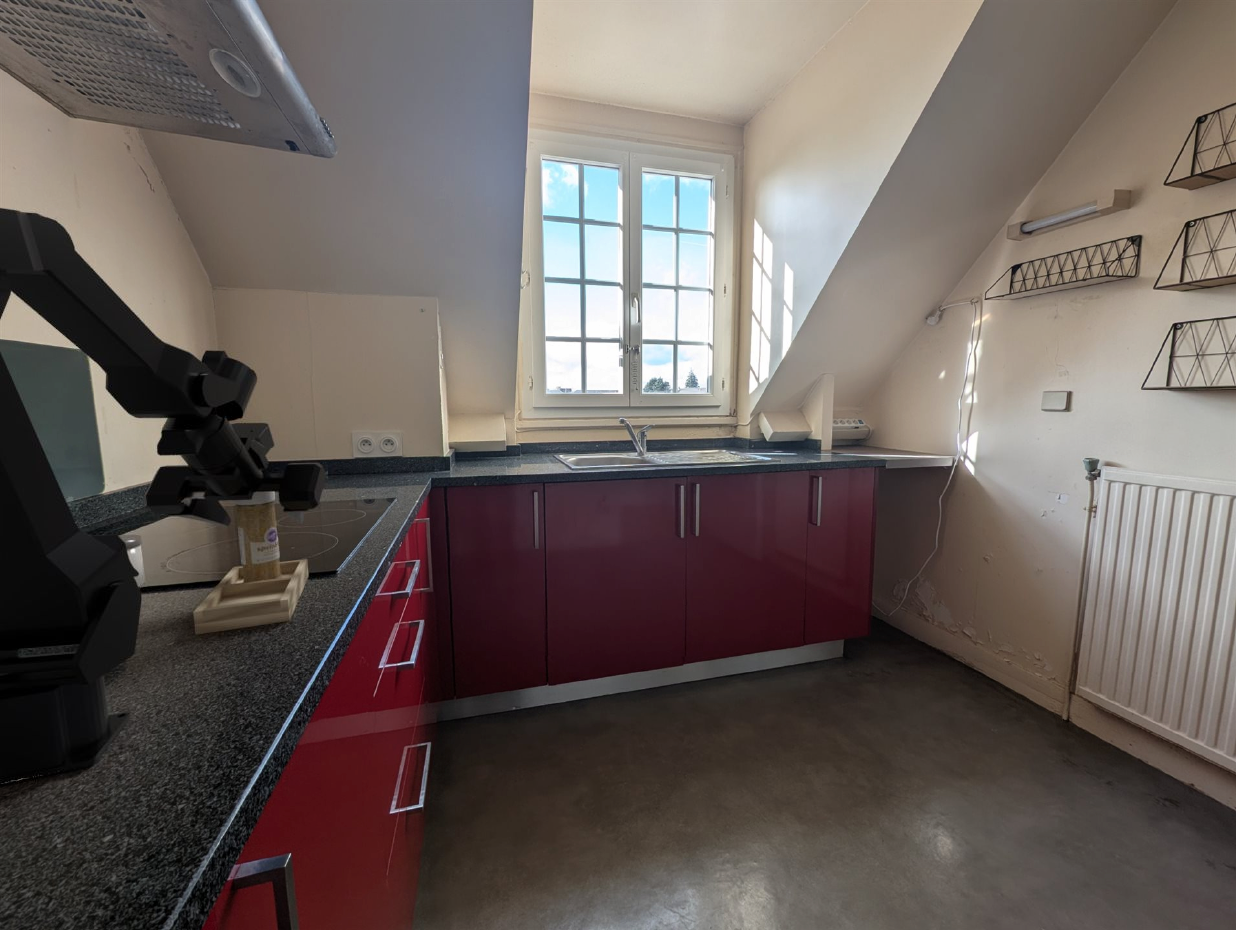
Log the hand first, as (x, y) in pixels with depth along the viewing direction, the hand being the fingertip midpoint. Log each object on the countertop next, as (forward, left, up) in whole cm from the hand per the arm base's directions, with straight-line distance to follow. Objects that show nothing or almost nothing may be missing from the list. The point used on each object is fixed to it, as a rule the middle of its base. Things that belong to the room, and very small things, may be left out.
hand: (265, 521), depth 72 cm
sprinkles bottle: (-2, +1, -8) cm, 9 cm away
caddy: (-6, 0, -10) cm, 11 cm away
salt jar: (+8, +20, -10) cm, 24 cm away
